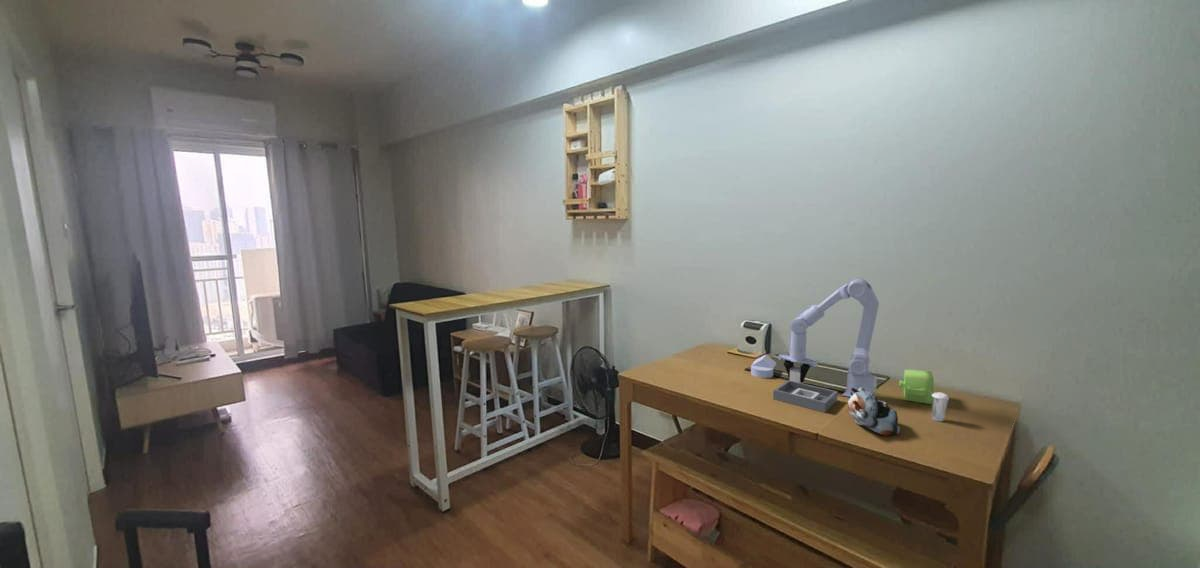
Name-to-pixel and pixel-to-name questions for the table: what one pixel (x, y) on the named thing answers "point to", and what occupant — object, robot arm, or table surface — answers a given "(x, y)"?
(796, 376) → the block
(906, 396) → the gearbox
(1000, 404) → the table surface
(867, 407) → the lucky cat figurine
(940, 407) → the milkshake
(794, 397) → the housing
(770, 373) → the wedge on round base
